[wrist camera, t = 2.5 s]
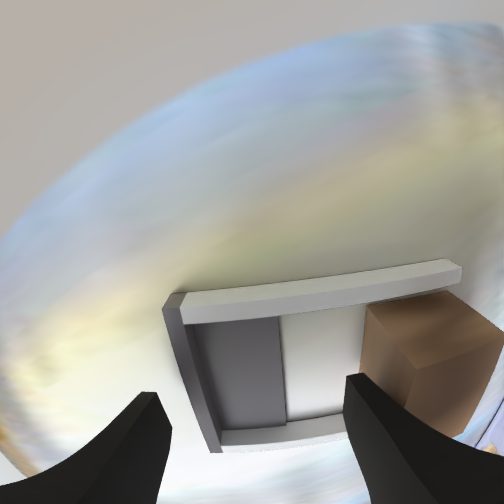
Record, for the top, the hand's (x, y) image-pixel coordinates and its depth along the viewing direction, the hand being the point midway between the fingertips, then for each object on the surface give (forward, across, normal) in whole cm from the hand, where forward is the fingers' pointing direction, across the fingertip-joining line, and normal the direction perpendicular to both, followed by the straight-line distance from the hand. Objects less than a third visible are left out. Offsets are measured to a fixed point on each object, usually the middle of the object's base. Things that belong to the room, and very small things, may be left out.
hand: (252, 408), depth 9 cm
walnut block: (+2, -6, 0) cm, 7 cm away
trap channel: (+2, -3, 0) cm, 4 cm away
